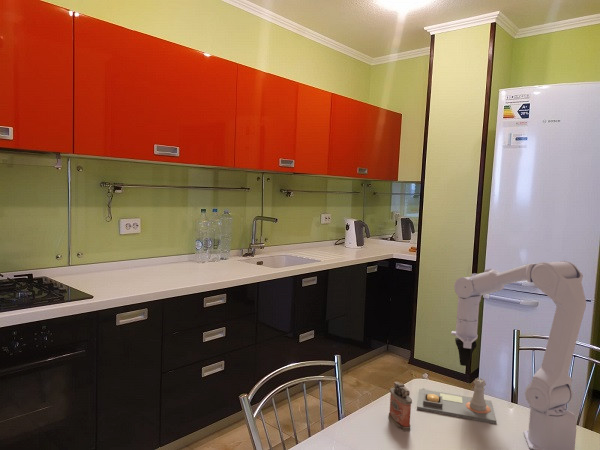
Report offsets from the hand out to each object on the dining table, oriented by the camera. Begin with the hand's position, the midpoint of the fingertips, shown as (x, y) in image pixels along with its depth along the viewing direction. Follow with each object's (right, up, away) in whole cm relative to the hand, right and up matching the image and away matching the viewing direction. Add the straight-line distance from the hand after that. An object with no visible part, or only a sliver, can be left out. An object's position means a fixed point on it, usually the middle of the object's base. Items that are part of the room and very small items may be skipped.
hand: (464, 364), depth 126 cm
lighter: (-22, -11, -13) cm, 28 cm away
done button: (-10, -9, -4) cm, 14 cm away
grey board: (-4, -11, -3) cm, 12 cm away
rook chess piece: (+2, -10, -6) cm, 12 cm away
